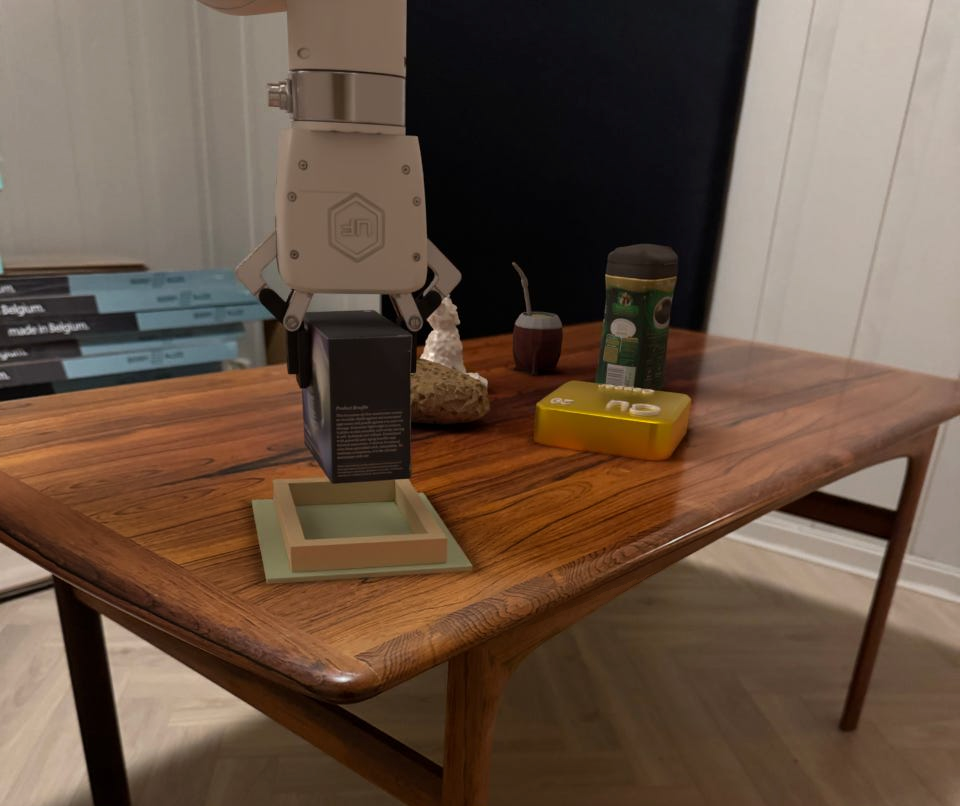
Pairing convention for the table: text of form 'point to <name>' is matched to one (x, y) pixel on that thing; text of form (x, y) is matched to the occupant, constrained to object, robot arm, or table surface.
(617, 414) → the element tile
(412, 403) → the sponge
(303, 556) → the tan shallow square tray
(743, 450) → the table surface
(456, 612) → the table surface
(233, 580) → the table surface
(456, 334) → the white creature statuette
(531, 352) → the mate gourd
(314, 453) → the small box
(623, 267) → the coffee jar
